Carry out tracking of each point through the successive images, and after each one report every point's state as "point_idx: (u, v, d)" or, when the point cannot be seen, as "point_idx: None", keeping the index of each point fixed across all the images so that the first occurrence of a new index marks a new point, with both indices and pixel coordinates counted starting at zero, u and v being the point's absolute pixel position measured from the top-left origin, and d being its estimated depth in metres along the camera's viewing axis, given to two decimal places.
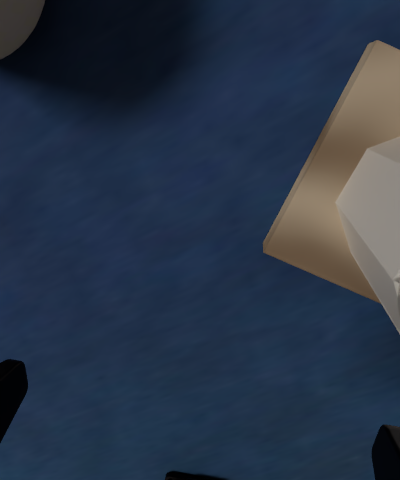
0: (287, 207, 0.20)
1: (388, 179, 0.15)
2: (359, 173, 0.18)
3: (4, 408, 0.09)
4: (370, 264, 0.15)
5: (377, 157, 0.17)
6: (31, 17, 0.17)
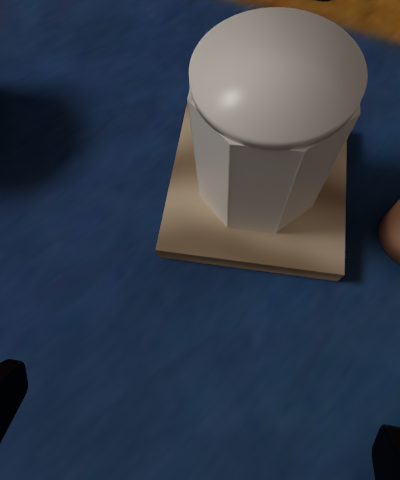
0: (164, 208, 0.24)
1: None
2: None
3: (4, 408, 0.09)
4: (206, 159, 0.19)
5: None
6: None
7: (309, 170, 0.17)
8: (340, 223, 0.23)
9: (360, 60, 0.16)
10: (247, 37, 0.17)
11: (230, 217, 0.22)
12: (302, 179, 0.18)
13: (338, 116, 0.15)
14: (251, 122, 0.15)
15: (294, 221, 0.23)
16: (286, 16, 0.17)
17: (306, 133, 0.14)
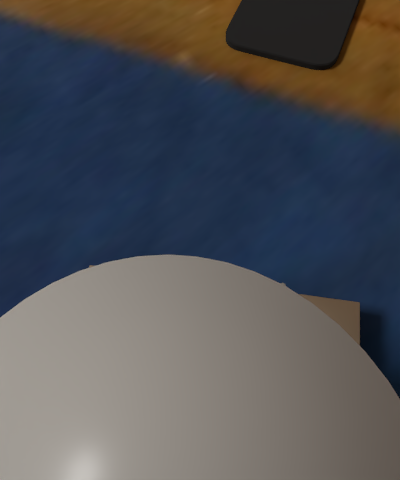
0: None
1: None
2: None
3: None
4: None
5: None
6: None
7: None
8: None
9: None
10: (81, 373, 0.06)
11: None
12: None
13: None
14: None
15: None
16: (203, 294, 0.06)
17: None
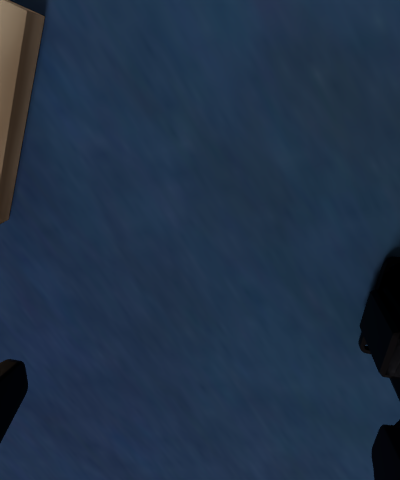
0: None
1: None
2: None
3: (4, 408, 0.09)
4: None
5: None
6: None
7: None
8: None
9: None
10: None
11: None
12: None
13: None
14: None
15: None
16: None
17: None
